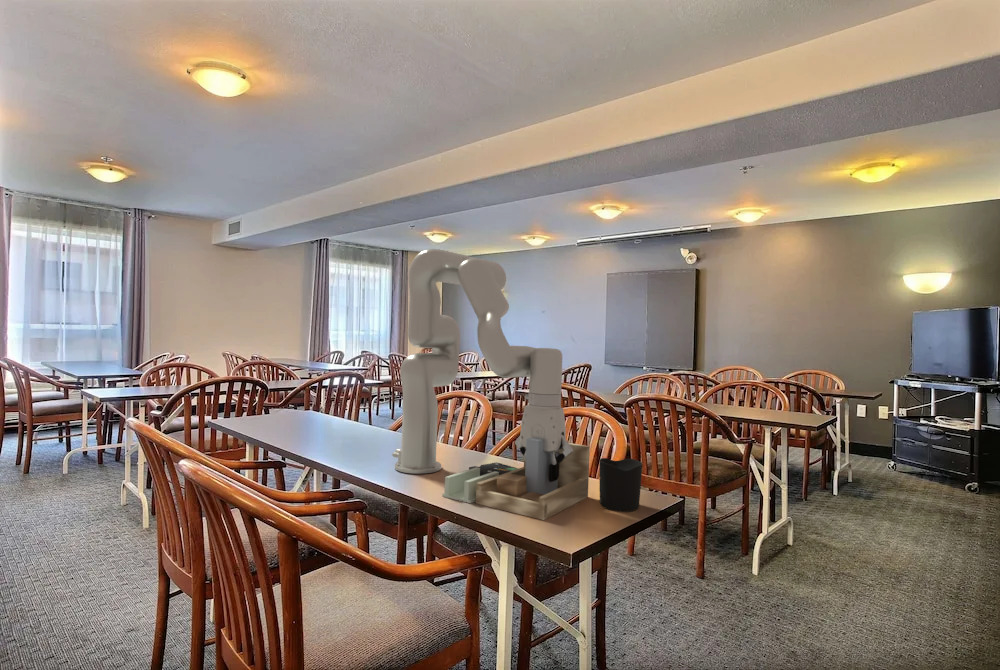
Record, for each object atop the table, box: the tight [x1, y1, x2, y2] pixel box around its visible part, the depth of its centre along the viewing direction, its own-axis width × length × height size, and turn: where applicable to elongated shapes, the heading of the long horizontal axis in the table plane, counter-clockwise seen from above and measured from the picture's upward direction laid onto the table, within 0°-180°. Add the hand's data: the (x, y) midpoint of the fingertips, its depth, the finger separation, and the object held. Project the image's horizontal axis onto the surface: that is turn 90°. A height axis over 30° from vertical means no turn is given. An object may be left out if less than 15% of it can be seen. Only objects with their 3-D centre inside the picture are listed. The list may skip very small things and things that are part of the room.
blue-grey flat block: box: [525, 438, 558, 495], centre depth 129 cm, size 3×10×14 cm, turn 146°
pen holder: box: [599, 457, 643, 513], centre depth 125 cm, size 9×9×10 cm
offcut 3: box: [519, 492, 544, 502], centre depth 120 cm, size 5×5×3 cm
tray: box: [475, 442, 591, 521], centre depth 127 cm, size 17×21×12 cm
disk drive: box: [468, 462, 519, 476], centre depth 145 cm, size 10×3×15 cm
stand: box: [441, 466, 499, 504], centre depth 130 cm, size 8×12×5 cm, turn 146°
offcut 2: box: [496, 490, 527, 498], centre depth 124 cm, size 5×5×3 cm
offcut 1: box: [496, 473, 527, 495], centre depth 124 cm, size 5×5×3 cm
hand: (541, 477), depth 129 cm, fingers open, 5 cm apart
